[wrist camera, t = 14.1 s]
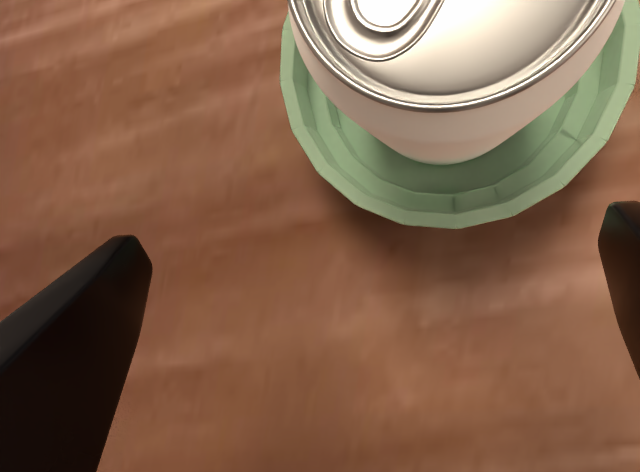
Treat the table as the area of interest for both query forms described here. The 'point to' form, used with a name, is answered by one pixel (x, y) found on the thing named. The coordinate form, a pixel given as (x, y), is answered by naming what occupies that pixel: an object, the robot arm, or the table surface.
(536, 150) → the bowl
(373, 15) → the can
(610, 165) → the table surface
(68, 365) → the robot arm
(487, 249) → the table surface
